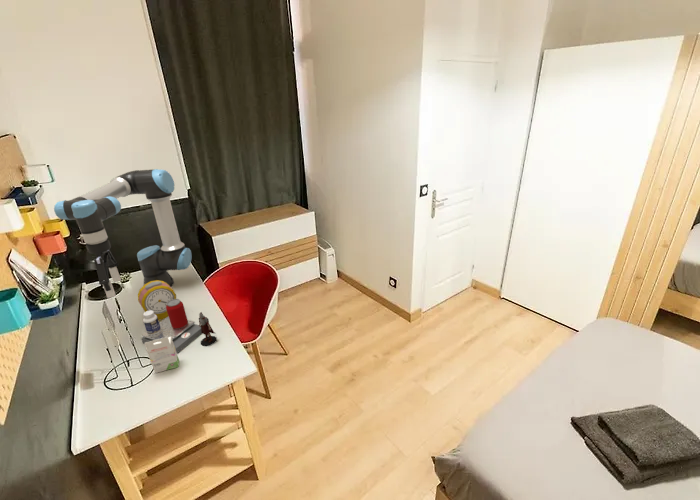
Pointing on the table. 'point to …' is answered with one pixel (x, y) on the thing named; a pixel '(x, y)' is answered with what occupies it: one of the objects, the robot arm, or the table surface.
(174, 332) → the silver square platform
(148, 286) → the alarm clock
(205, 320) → the figurine
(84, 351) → the table surface
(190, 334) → the scale
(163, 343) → the ink box
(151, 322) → the pill bottle
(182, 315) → the beverage can
